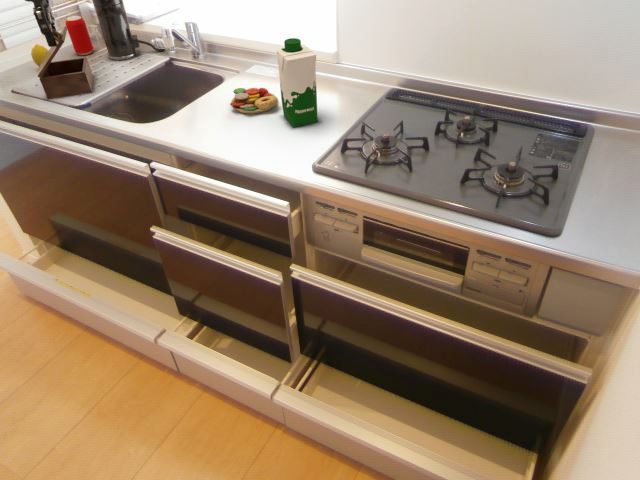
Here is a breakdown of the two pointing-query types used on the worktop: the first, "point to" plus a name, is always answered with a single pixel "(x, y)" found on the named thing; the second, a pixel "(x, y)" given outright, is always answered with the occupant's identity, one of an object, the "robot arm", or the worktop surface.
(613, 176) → the worktop surface
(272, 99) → the toy food set
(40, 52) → the lemon
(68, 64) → the chest
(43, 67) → the lid
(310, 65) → the soya milk
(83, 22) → the beverage can
